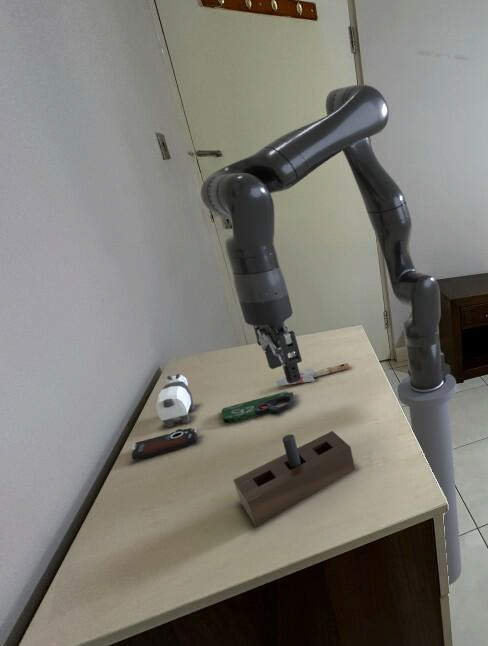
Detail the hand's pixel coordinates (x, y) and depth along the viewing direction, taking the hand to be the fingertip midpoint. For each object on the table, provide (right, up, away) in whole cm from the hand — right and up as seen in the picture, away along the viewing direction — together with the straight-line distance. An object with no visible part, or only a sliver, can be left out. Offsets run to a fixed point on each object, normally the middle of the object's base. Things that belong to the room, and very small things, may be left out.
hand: (284, 374), depth 76 cm
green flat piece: (-23, -14, +29) cm, 39 cm away
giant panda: (-43, -14, +27) cm, 53 cm away
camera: (-36, -19, +16) cm, 44 cm away
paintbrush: (-16, -7, +44) cm, 48 cm away
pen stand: (+1, -23, +4) cm, 24 cm away
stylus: (+1, -23, +4) cm, 24 cm away
